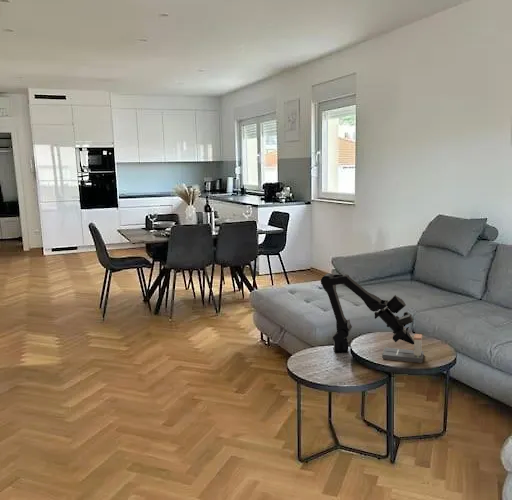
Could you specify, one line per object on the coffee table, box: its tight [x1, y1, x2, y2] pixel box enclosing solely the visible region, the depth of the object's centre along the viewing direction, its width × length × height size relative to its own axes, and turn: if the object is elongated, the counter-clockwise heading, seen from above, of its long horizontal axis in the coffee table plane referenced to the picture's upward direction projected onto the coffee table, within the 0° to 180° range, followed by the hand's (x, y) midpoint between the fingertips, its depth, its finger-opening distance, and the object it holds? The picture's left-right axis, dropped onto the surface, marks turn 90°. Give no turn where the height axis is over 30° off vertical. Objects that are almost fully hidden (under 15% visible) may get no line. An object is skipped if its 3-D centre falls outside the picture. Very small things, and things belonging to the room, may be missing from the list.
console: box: [381, 347, 425, 364], centre depth 236 cm, size 18×10×2 cm, turn 68°
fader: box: [413, 333, 423, 356], centre depth 232 cm, size 3×5×9 cm, turn 158°
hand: (413, 343), depth 233 cm, fingers closed, pressing on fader
